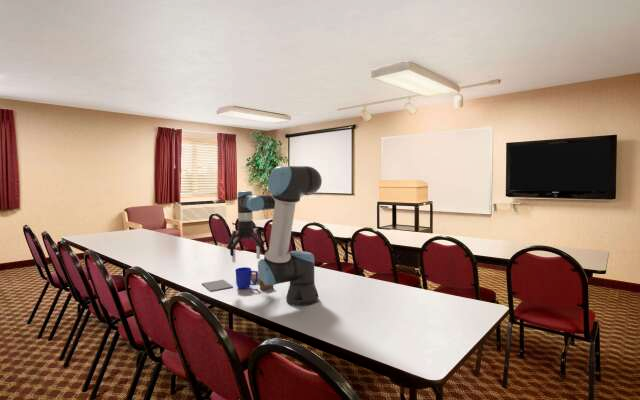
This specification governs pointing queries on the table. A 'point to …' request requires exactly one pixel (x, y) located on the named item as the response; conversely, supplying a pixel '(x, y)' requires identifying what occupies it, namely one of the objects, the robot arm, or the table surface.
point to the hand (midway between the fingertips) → (246, 260)
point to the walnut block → (265, 286)
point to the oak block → (253, 277)
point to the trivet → (217, 285)
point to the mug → (244, 277)
